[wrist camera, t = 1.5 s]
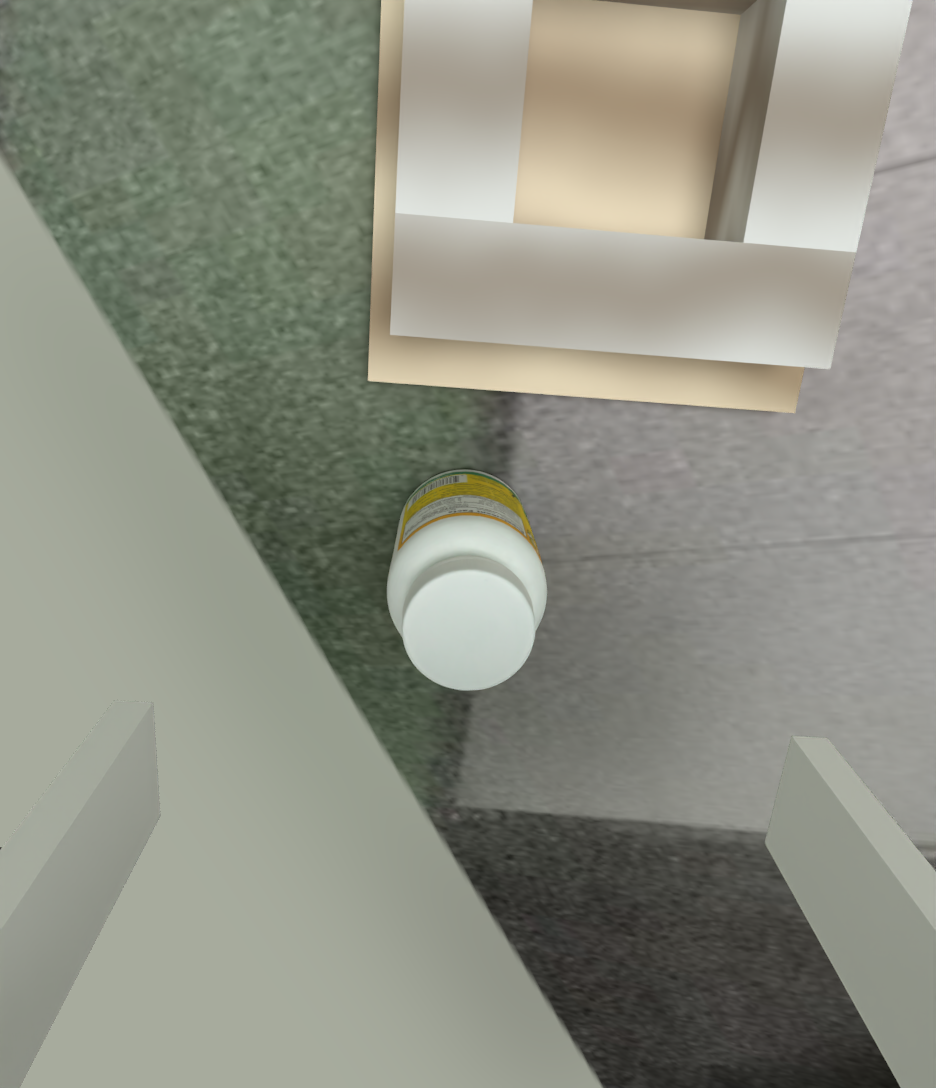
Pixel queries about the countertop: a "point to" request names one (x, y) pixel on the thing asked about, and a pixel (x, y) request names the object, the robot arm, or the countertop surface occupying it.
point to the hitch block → (623, 192)
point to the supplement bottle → (466, 580)
